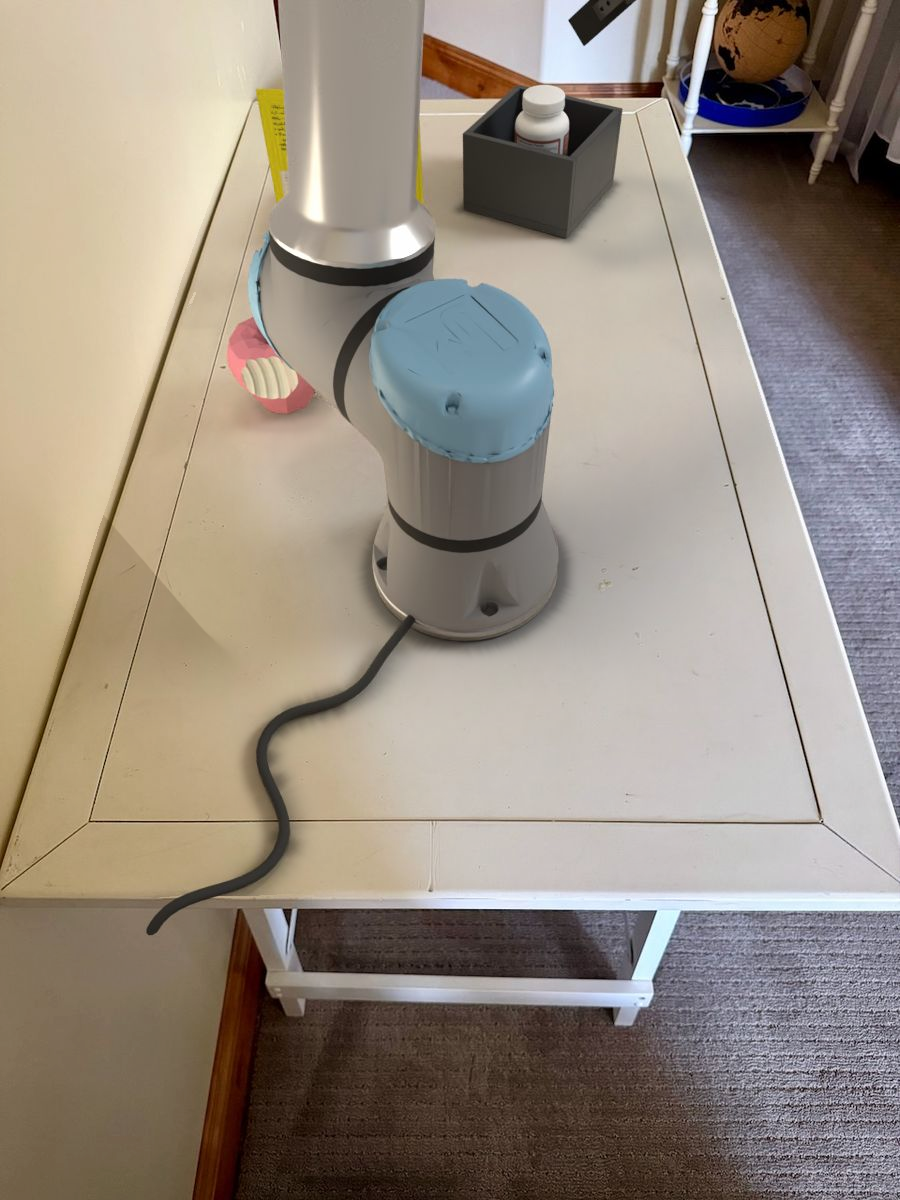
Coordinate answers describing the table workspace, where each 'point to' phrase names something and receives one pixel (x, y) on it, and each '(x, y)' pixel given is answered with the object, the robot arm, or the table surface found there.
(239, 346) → the apple
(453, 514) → the robot arm
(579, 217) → the trash bin
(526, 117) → the pill bottle
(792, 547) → the table surface
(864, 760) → the table surface
